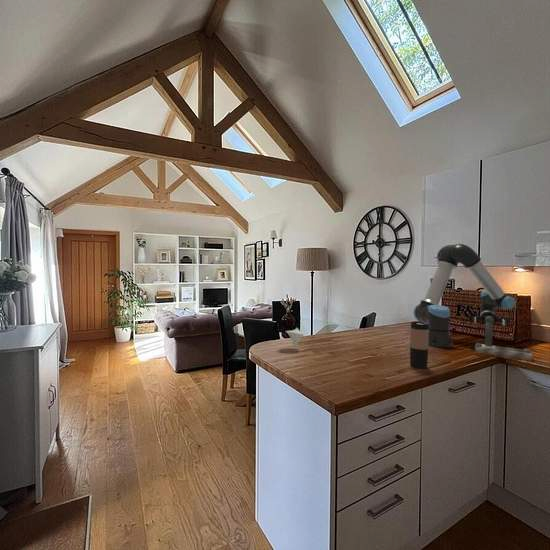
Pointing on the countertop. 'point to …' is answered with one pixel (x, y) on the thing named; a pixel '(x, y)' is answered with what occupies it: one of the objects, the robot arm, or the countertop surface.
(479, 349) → the rail base
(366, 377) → the countertop surface
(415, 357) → the travel mug
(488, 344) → the slider
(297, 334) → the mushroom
